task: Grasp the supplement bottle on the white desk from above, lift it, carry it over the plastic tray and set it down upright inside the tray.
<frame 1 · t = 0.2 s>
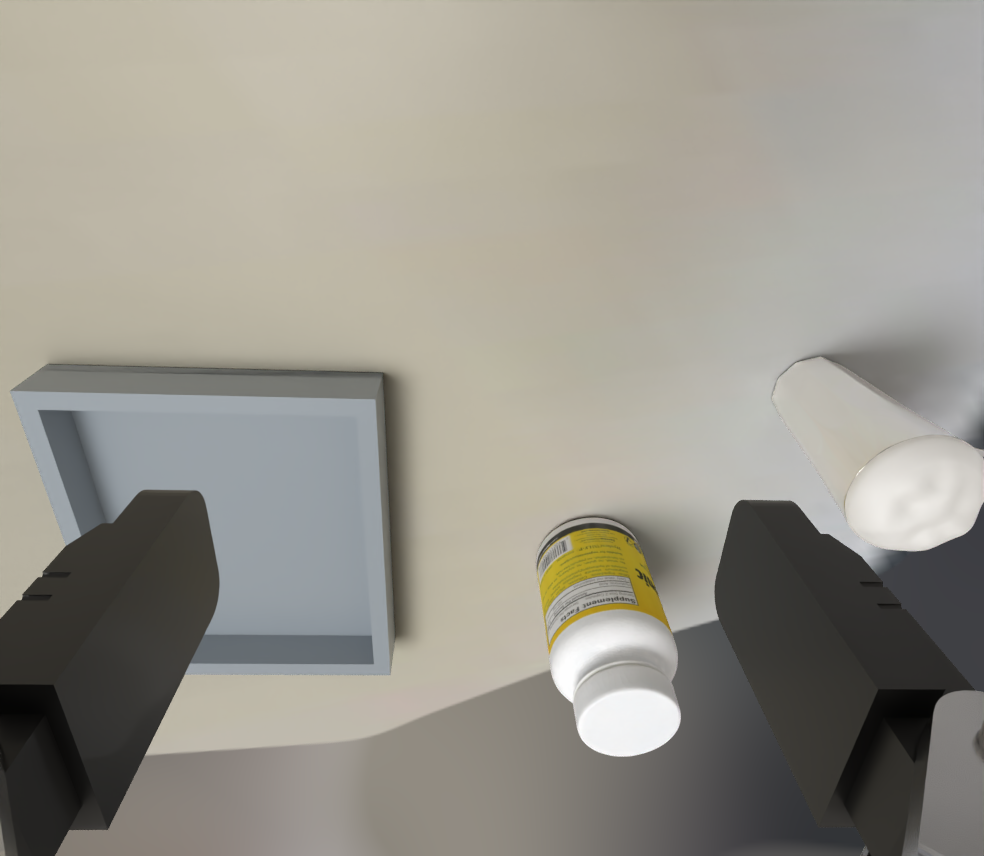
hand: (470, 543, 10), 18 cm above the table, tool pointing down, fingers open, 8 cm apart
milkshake: (813, 381, 29), on the table
tray: (244, 519, 31), on the table
supplement bottle: (587, 552, 33), on the table
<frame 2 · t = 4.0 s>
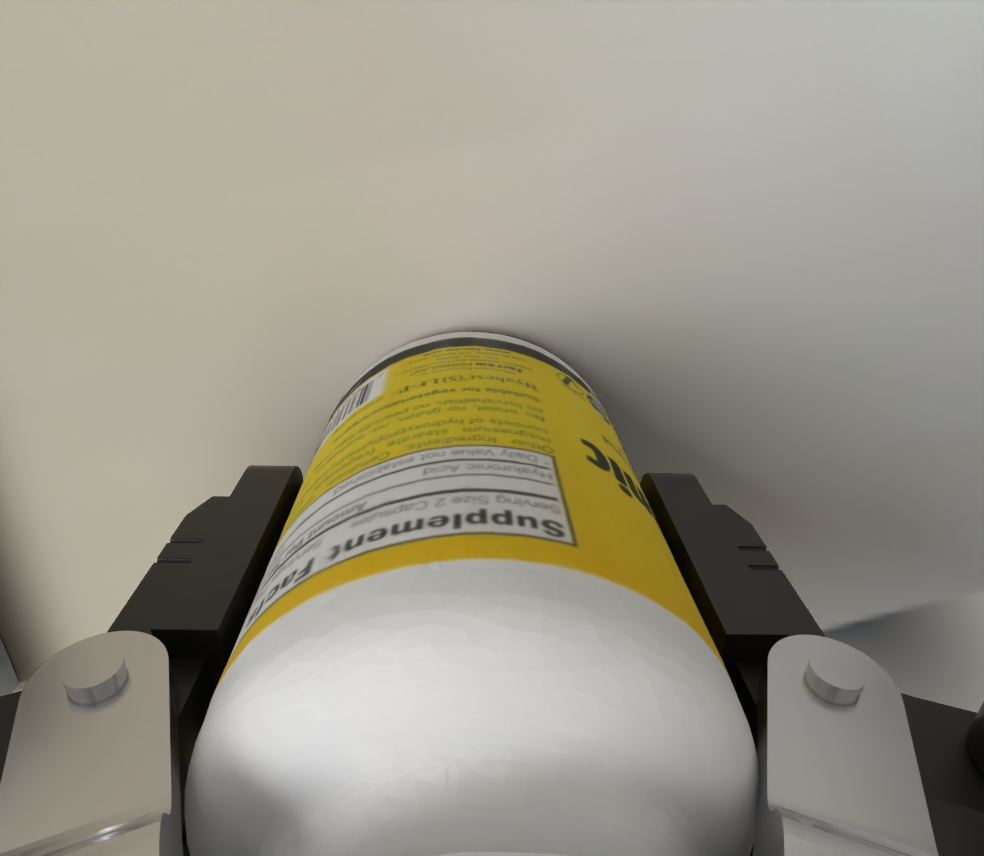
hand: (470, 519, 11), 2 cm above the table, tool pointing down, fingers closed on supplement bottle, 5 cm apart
supplement bottle: (471, 453, 13), on the table, touching gripper
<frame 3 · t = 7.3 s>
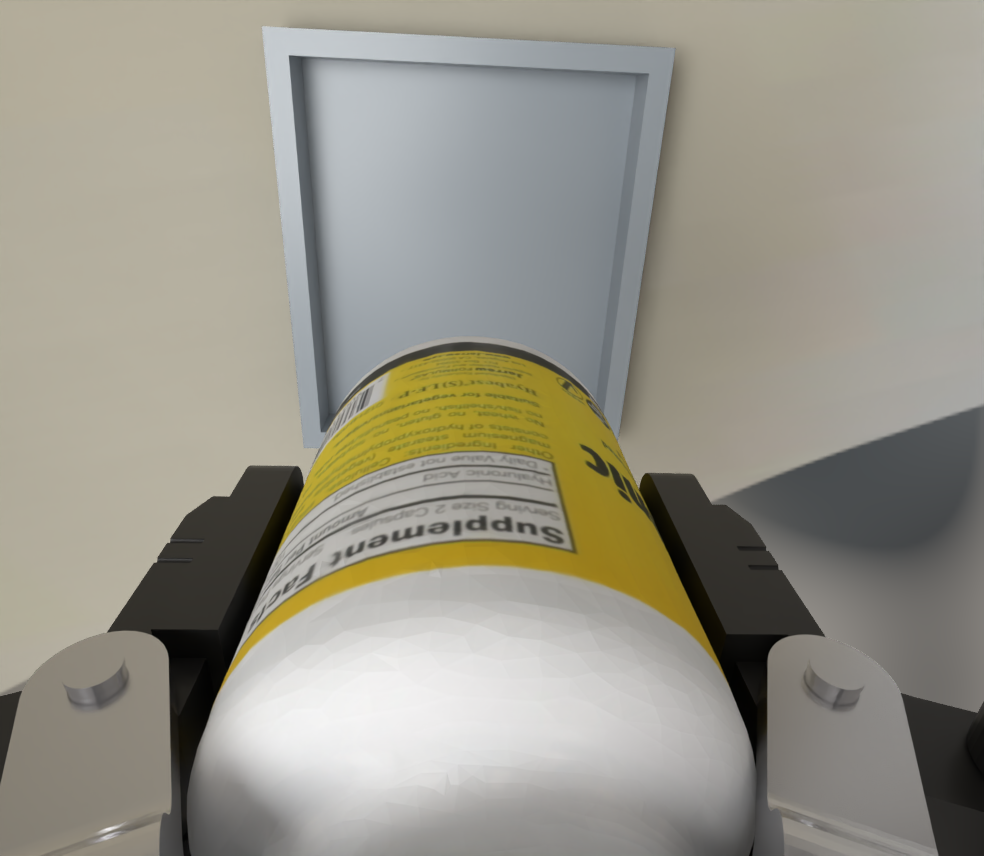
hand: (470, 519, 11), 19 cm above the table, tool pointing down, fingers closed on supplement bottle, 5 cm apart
tray: (466, 259, 28), on the table
supplement bottle: (471, 456, 13), point 17 cm above the table, touching gripper
when the fingers open (4 cm above the table, at t = 10.7 s): supplement bottle drops 1 cm, resting on tray.
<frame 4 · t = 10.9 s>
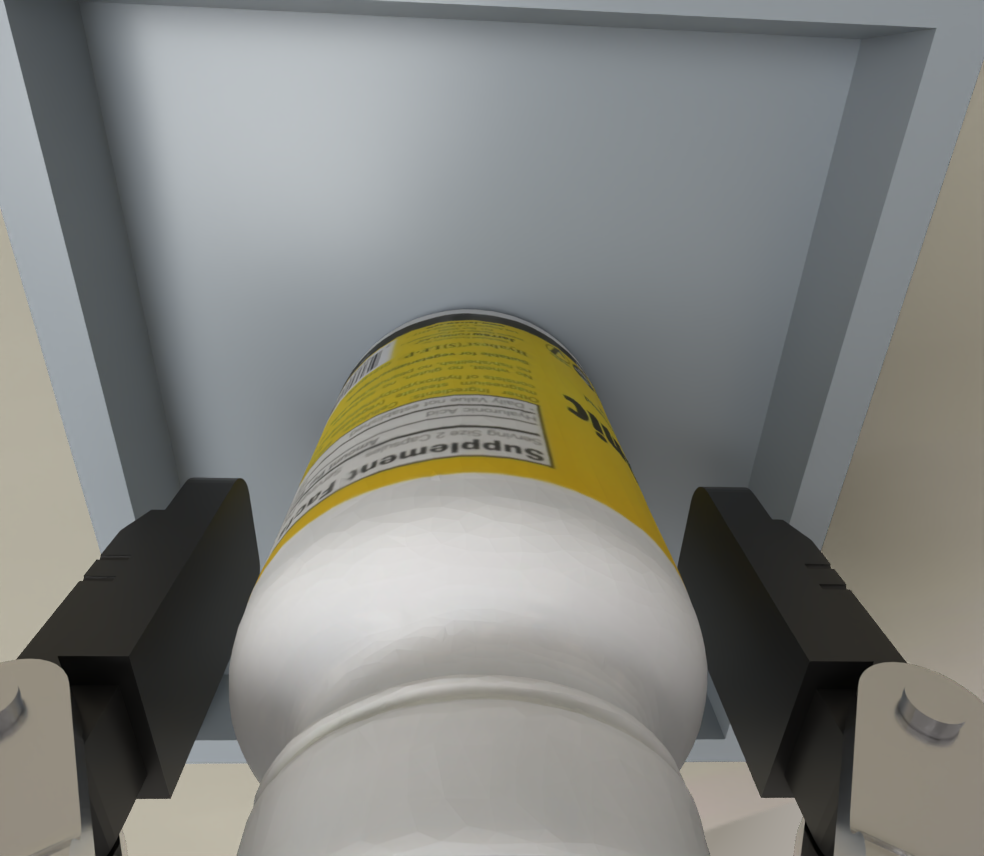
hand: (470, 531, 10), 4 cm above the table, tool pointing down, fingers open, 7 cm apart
tray: (470, 414, 14), on the table
supplement bottle: (470, 422, 14), resting on tray
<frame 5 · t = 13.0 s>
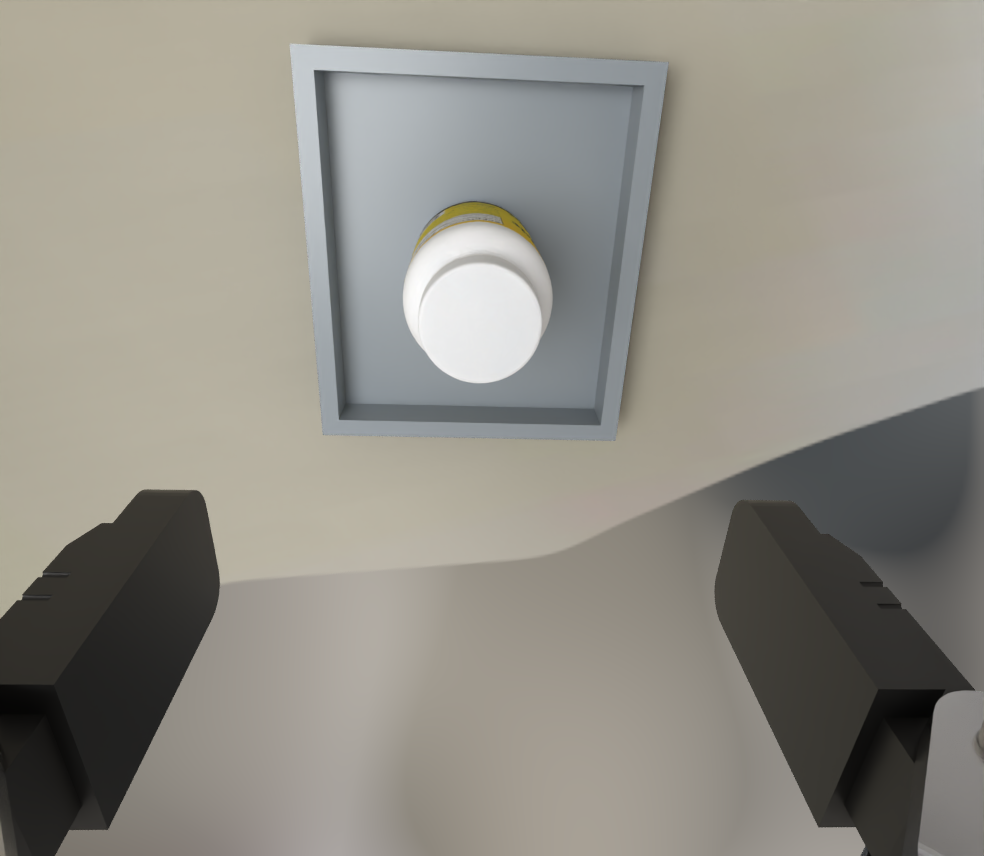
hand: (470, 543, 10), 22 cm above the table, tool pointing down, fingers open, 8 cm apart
tray: (474, 257, 30), on the table
supplement bottle: (475, 259, 29), resting on tray
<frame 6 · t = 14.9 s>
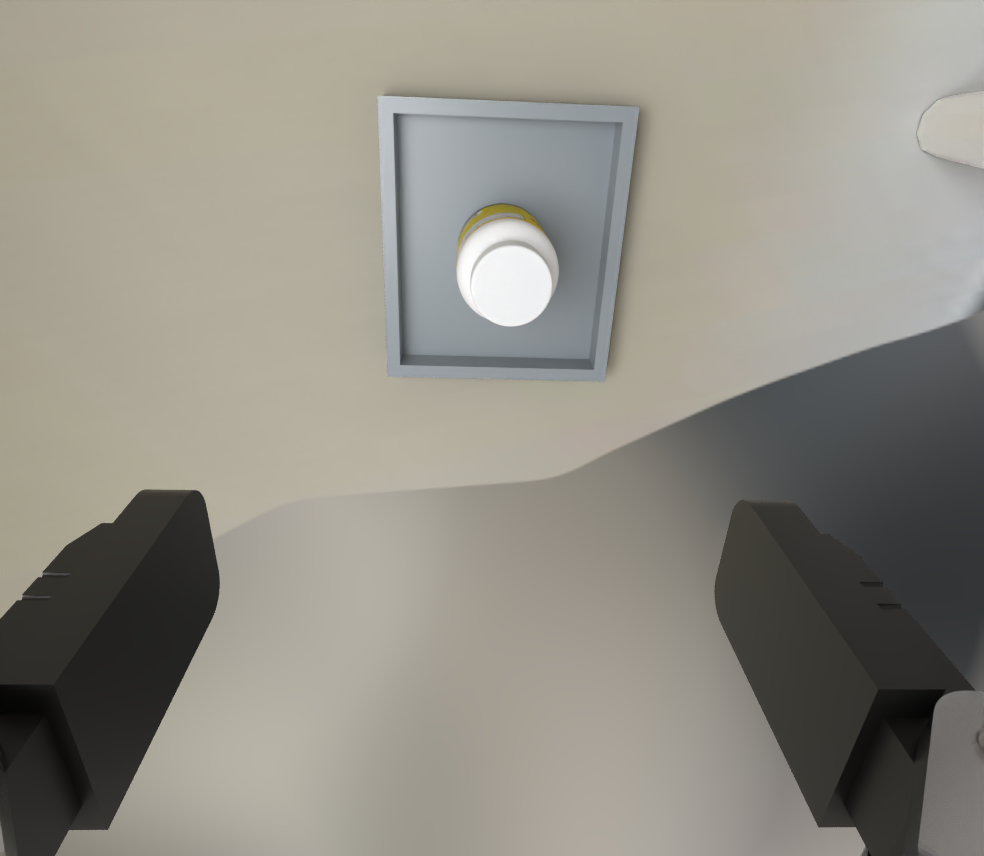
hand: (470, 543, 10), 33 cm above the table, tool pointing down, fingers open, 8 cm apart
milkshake: (948, 119, 38), on the table
tray: (500, 244, 40), on the table
supplement bottle: (501, 246, 40), resting on tray
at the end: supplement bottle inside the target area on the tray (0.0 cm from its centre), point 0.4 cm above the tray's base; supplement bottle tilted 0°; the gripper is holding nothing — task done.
